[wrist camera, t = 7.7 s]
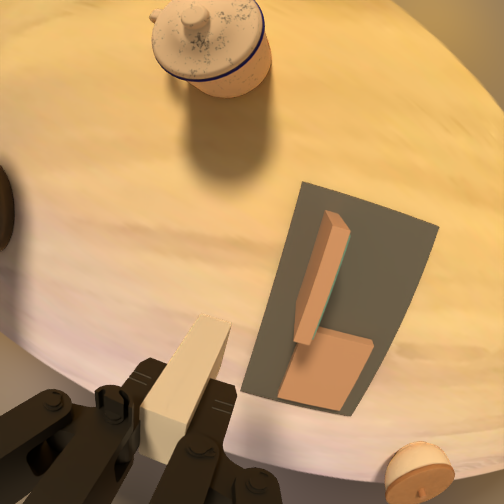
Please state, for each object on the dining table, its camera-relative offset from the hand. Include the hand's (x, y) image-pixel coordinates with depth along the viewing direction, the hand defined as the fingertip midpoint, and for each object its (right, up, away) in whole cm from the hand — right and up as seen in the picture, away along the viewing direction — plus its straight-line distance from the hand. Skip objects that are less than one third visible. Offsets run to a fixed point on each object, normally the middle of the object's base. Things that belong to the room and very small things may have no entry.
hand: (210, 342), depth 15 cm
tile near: (+8, +3, +17) cm, 19 cm away
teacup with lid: (-2, +24, +14) cm, 28 cm away
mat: (+11, -3, +19) cm, 22 cm away
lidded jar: (+27, -27, +24) cm, 45 cm away
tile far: (+6, -8, +20) cm, 22 cm away
